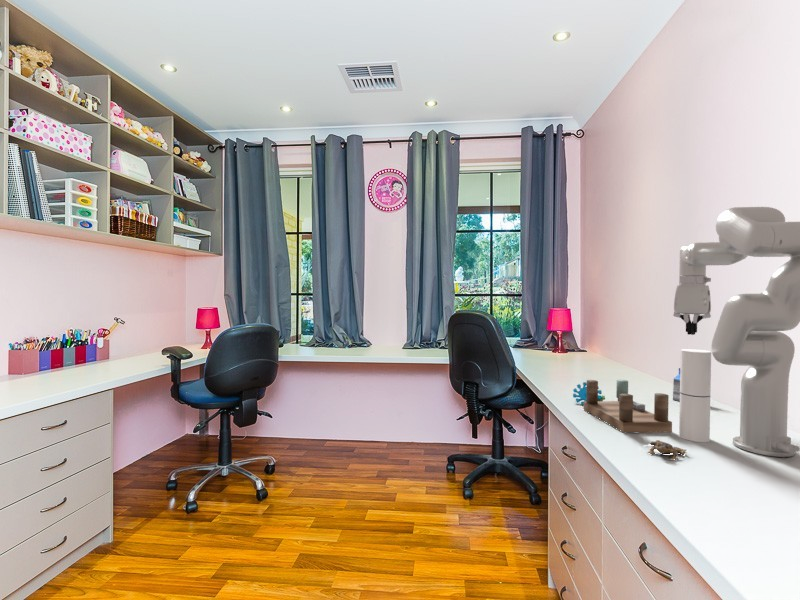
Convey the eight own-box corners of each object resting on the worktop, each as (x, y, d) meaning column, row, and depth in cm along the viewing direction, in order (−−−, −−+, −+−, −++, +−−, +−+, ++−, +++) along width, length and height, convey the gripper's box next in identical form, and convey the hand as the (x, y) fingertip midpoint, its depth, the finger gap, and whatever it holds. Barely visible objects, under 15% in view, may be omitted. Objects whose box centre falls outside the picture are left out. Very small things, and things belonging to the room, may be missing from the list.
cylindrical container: (680, 439, 120) (682, 351, 119) (677, 432, 126) (679, 348, 125) (711, 443, 116) (713, 353, 116) (707, 435, 123) (708, 349, 122)
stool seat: (671, 432, 126) (672, 396, 126) (623, 432, 125) (623, 396, 125) (624, 409, 150) (625, 379, 150) (583, 410, 149) (583, 379, 149)
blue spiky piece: (568, 399, 158) (578, 378, 162) (570, 407, 161) (580, 386, 166) (599, 408, 151) (608, 386, 155) (601, 417, 154) (610, 395, 158)
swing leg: (648, 411, 137) (648, 388, 136) (637, 411, 136) (638, 388, 136) (623, 400, 150) (624, 379, 150) (614, 400, 149) (614, 379, 149)
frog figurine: (690, 468, 101) (690, 452, 101) (634, 455, 109) (634, 440, 109) (696, 454, 110) (697, 440, 110) (644, 443, 118) (644, 429, 118)
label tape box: (672, 400, 164) (672, 368, 163) (678, 398, 165) (678, 367, 165) (697, 405, 156) (697, 372, 155) (703, 404, 158) (703, 371, 157)
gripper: (721, 281, 143) (720, 335, 144) (670, 281, 154) (669, 332, 155) (716, 280, 138) (715, 336, 139) (664, 281, 149) (663, 333, 149)
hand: (691, 334), depth 147 cm, fingers closed
